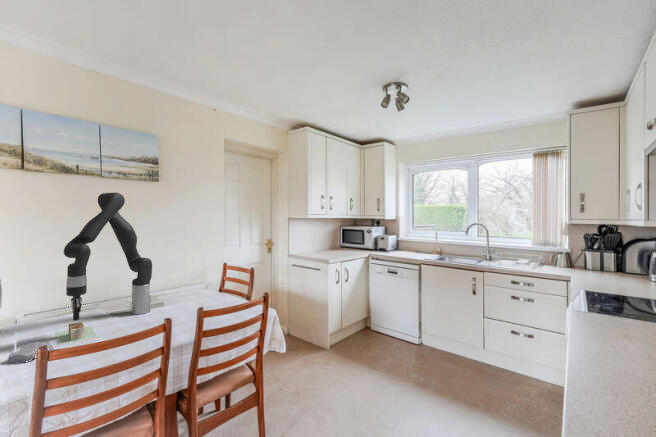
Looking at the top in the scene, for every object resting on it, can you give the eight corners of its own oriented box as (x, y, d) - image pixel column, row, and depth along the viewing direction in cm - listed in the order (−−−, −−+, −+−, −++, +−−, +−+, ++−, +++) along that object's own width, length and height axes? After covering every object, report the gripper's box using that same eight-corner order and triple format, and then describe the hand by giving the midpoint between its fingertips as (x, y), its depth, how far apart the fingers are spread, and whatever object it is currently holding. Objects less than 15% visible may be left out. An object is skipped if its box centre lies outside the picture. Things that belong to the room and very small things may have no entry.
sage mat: (91, 327, 157) (91, 325, 157) (97, 338, 145) (97, 336, 144) (55, 334, 147) (55, 332, 147) (58, 346, 134) (58, 345, 134)
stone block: (55, 353, 132) (31, 349, 131) (57, 343, 132) (33, 339, 131) (31, 368, 120) (4, 364, 119) (33, 357, 120) (6, 352, 119)
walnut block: (82, 321, 149) (84, 327, 142) (81, 331, 149) (84, 338, 142) (68, 324, 146) (71, 330, 139) (68, 334, 146) (70, 341, 139)
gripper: (88, 286, 143) (88, 322, 144) (84, 281, 153) (84, 314, 153) (67, 288, 138) (67, 326, 138) (65, 283, 147) (64, 318, 148)
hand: (76, 320), depth 146 cm, fingers closed
